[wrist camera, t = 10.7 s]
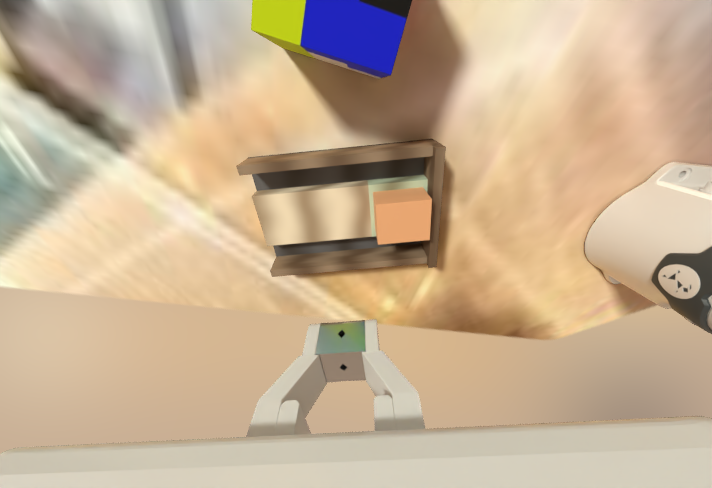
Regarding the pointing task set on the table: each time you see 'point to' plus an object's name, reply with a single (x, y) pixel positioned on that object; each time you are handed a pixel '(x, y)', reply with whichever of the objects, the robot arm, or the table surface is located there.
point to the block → (402, 215)
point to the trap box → (342, 204)
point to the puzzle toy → (336, 30)
